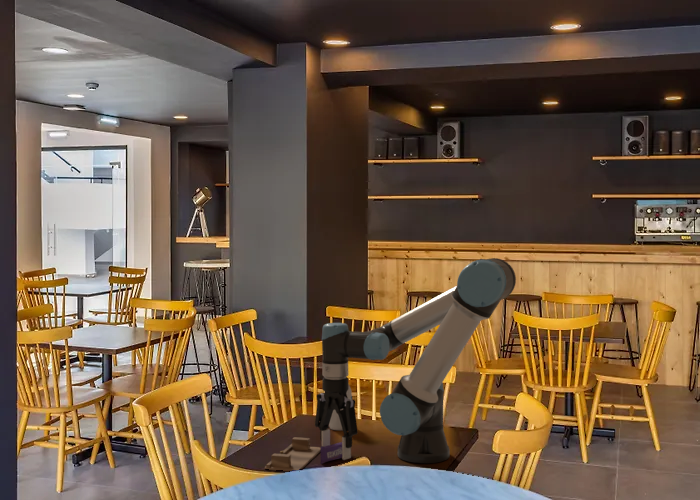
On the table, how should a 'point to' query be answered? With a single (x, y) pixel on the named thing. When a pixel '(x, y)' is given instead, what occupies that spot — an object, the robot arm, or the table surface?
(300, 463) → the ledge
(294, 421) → the table surface
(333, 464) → the table surface
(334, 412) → the milk bottle
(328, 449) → the snack package
